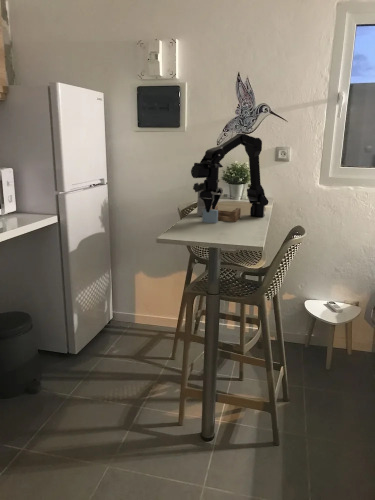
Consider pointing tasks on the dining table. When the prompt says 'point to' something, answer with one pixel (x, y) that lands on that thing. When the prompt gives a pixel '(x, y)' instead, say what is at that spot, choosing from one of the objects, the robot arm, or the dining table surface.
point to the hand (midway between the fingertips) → (210, 210)
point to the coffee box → (200, 205)
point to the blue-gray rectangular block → (210, 216)
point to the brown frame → (228, 214)
